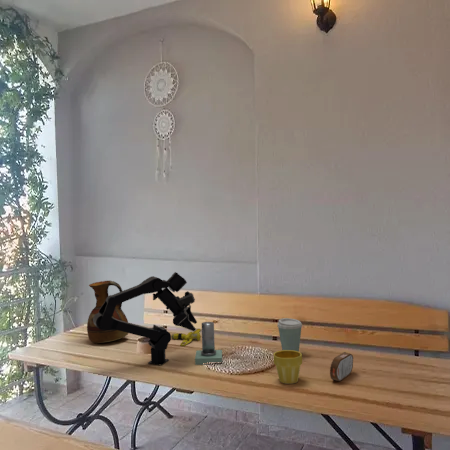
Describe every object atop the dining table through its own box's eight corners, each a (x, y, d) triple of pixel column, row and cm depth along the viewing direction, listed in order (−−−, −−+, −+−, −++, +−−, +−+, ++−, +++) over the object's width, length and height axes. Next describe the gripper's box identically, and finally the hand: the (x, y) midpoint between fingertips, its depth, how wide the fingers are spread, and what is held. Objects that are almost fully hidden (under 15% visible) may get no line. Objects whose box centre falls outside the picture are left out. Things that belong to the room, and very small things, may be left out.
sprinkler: (177, 326, 228) (205, 326, 224) (178, 333, 229) (206, 334, 225) (162, 341, 210) (193, 342, 206) (163, 349, 210) (193, 350, 206)
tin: (347, 371, 169) (346, 349, 169) (355, 372, 167) (354, 350, 167) (329, 383, 158) (328, 359, 157) (337, 385, 156) (337, 361, 155)
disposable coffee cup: (306, 352, 193) (305, 318, 192) (299, 360, 183) (298, 324, 182) (282, 350, 197) (281, 316, 197) (274, 357, 187) (273, 322, 187)
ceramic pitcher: (87, 337, 227) (85, 279, 226) (127, 333, 233) (125, 276, 233) (87, 348, 208) (85, 284, 208) (131, 343, 214) (129, 281, 214)
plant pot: (269, 378, 164) (268, 351, 164) (293, 374, 167) (292, 348, 167) (282, 388, 154) (281, 359, 154) (308, 383, 158) (307, 355, 158)
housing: (212, 357, 182) (211, 325, 182) (198, 355, 185) (197, 324, 184) (218, 352, 188) (217, 321, 188) (204, 351, 191) (203, 321, 190)
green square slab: (222, 363, 181) (221, 357, 181) (195, 364, 181) (194, 358, 181) (222, 355, 192) (221, 349, 192) (196, 356, 192) (196, 350, 192)
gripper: (181, 293, 177) (208, 320, 178) (185, 282, 195) (210, 307, 196) (161, 311, 177) (188, 339, 179) (167, 299, 196) (191, 324, 197)
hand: (195, 326), depth 188 cm, fingers open, 9 cm apart
